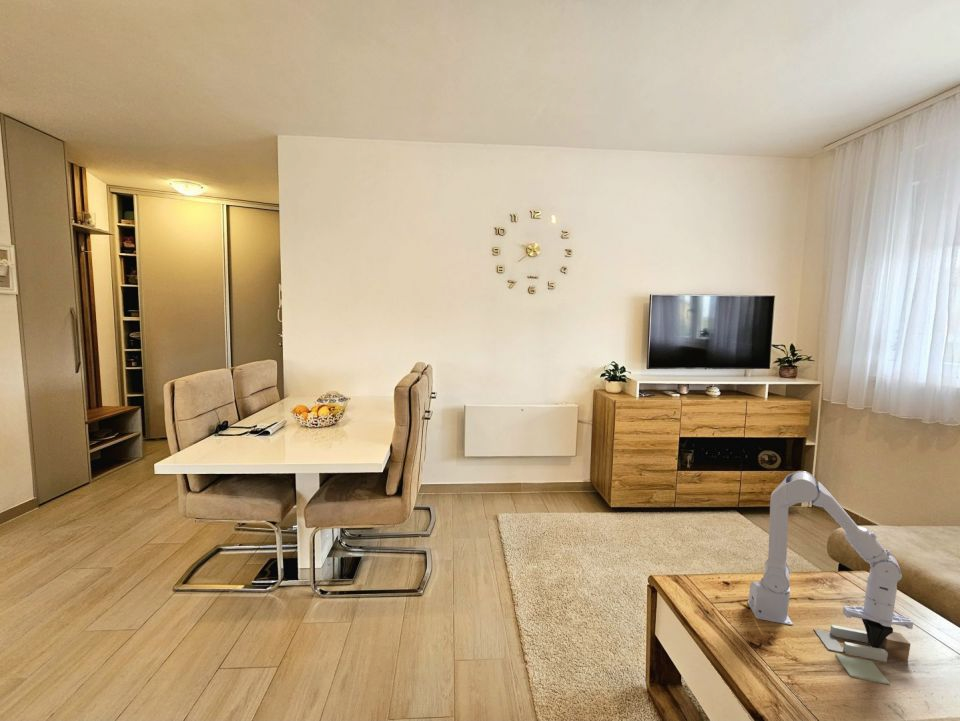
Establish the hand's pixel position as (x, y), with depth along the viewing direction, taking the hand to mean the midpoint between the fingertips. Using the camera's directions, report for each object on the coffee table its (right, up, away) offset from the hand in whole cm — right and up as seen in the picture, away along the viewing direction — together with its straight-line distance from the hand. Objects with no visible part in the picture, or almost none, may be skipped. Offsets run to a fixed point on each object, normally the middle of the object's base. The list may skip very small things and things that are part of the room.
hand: (873, 646), depth 116 cm
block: (+4, -1, -1) cm, 4 cm away
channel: (-5, -1, +2) cm, 6 cm away
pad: (-9, -1, -7) cm, 11 cm away
